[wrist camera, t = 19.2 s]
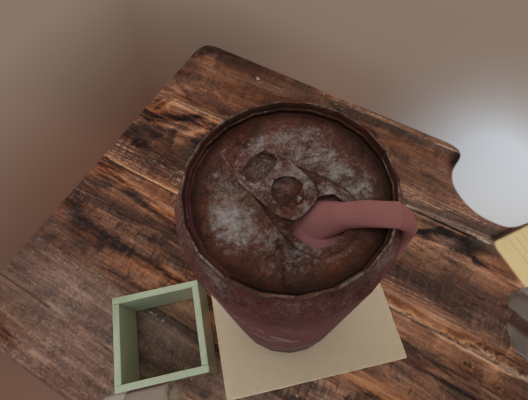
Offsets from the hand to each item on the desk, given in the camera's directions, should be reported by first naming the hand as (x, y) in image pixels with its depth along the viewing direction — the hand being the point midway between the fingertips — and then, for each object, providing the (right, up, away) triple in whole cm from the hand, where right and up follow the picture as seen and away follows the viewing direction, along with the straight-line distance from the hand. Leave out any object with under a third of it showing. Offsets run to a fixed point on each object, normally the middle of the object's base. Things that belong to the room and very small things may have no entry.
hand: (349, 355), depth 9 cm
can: (-1, -2, +13) cm, 13 cm away
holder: (-14, -15, +39) cm, 44 cm away
